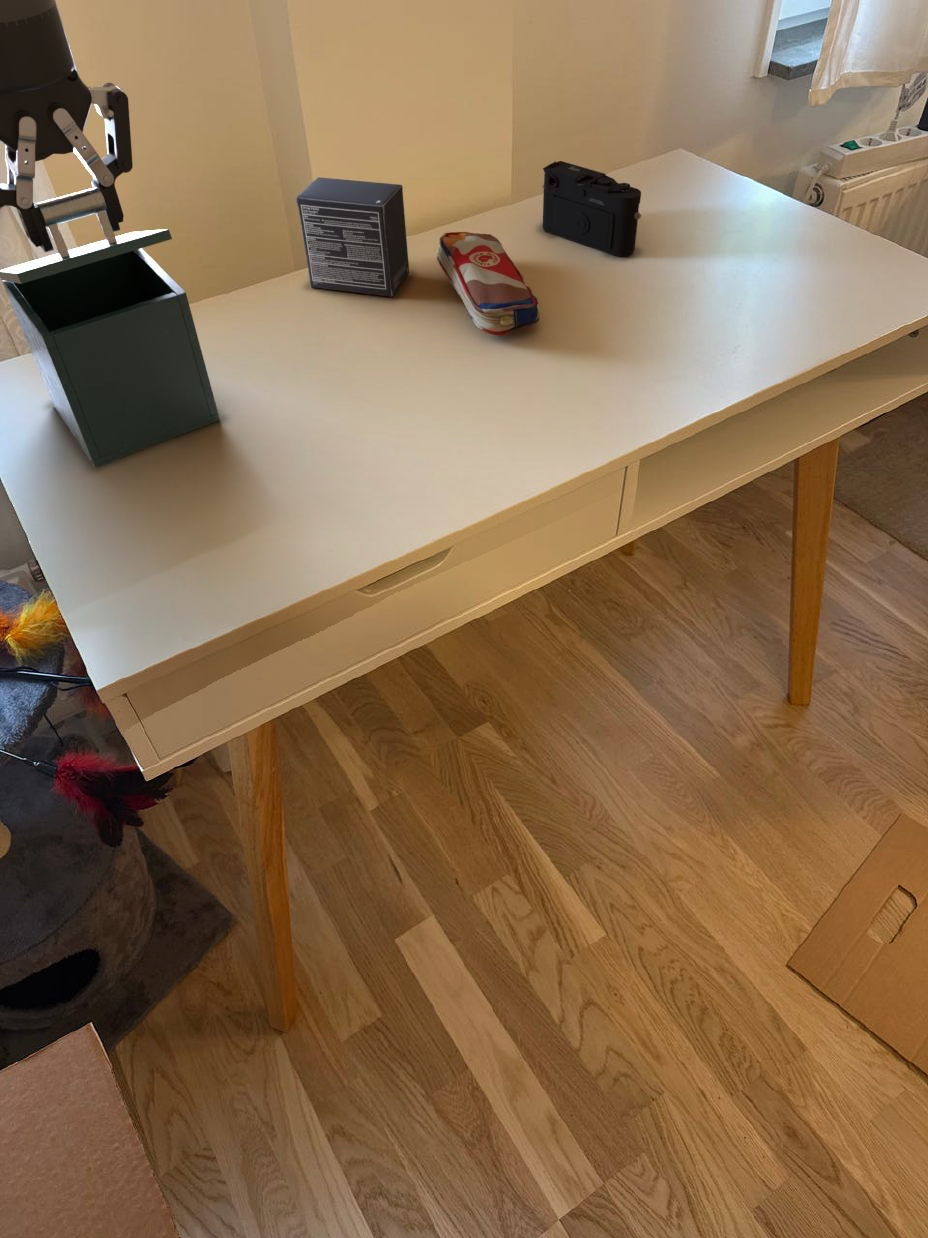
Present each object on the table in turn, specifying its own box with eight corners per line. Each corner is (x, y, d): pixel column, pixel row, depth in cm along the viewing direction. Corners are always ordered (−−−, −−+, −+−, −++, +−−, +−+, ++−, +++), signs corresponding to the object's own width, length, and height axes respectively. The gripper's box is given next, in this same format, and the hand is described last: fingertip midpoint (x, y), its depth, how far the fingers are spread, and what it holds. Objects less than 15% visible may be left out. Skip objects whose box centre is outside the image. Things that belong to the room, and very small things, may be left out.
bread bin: (220, 420, 91) (186, 292, 81) (95, 467, 86) (43, 338, 77) (171, 364, 98) (134, 240, 89) (53, 405, 94) (1, 280, 84)
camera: (660, 240, 114) (668, 173, 108) (626, 262, 110) (633, 193, 105) (566, 210, 121) (569, 145, 115) (532, 230, 117) (533, 164, 111)
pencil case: (528, 258, 112) (529, 216, 108) (542, 344, 99) (543, 300, 95) (437, 262, 112) (435, 220, 108) (438, 348, 99) (435, 304, 95)
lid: (172, 238, 78) (148, 172, 75) (21, 283, 73) (-10, 215, 71) (135, 240, 88) (113, 183, 86) (1, 279, 84) (-26, 220, 81)
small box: (412, 272, 110) (405, 181, 103) (393, 298, 106) (384, 206, 99) (330, 262, 113) (317, 173, 105) (308, 287, 109) (293, 196, 101)
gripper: (81, -28, 70) (144, 199, 83) (-120, 10, 65) (-19, 246, 77) (116, -5, 66) (177, 230, 78) (-96, 37, 61) (6, 282, 73)
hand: (79, 237), depth 78 cm, fingers closed on lid, 5 cm apart
